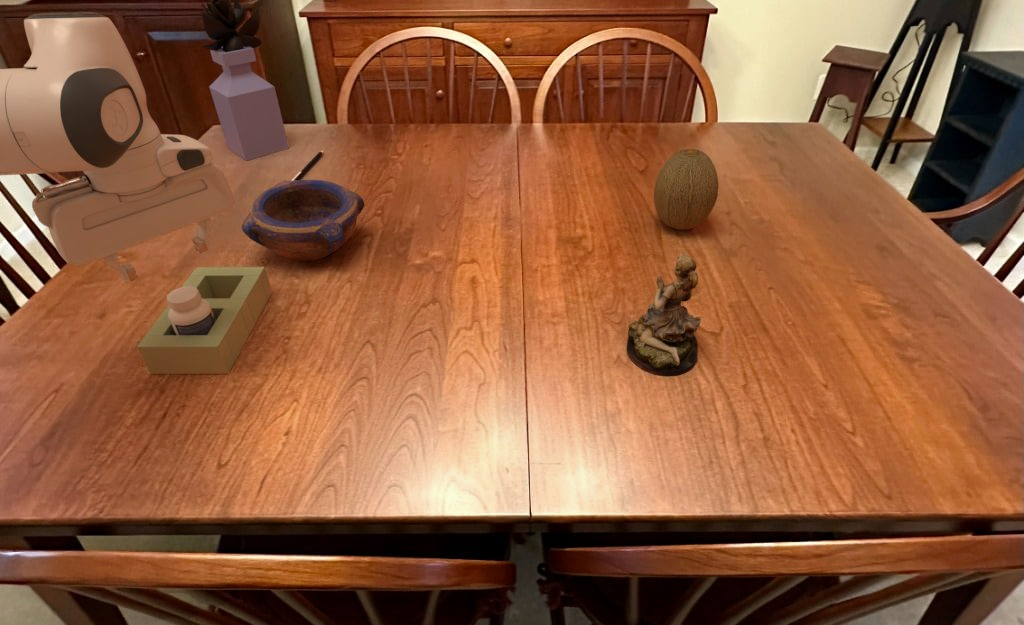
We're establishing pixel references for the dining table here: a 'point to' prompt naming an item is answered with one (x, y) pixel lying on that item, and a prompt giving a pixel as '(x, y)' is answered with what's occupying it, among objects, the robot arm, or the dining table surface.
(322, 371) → the dining table surface
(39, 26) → the robot arm
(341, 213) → the bowl
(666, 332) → the figurine
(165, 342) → the compartment tray
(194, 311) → the pill bottle
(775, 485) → the dining table surface
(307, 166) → the pen
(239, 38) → the vase
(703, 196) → the fruit
